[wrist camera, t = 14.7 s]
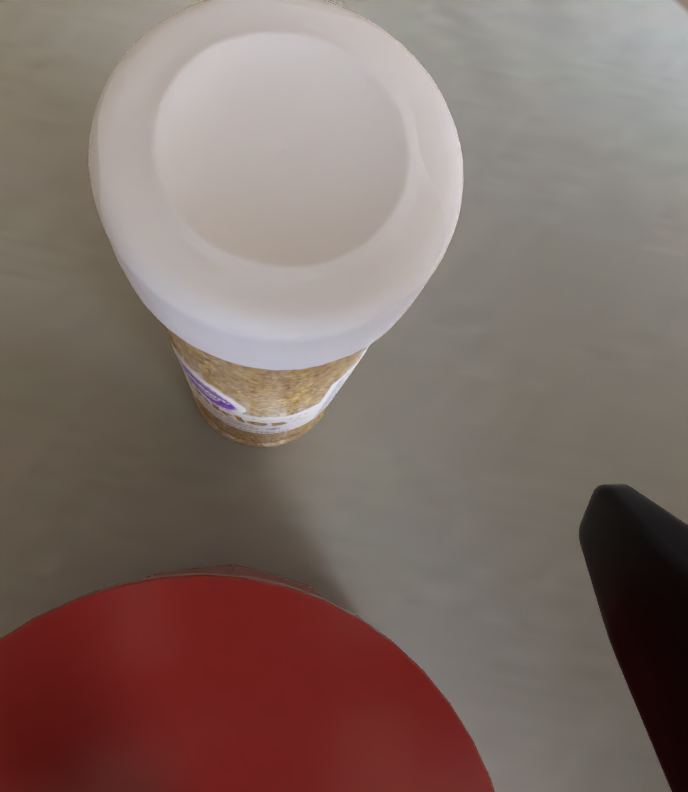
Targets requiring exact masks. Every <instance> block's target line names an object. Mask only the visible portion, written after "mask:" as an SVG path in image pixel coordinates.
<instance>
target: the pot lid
mask: <svg viewBox="0 0 688 792" xmlns="http://www.w3.org/2000/svg"><path fill="white" fill-rule="evenodd" d="M0 792H495V791H494V788H493V785H492V782H491V779H490V777H489V775H488V772H487V770H486V768H485V766H484V764H483V761H482V759H481V757H480V755H479V753H478V751H477V748H476V746H475V744H474V742H473V740H472V738H471V736H470V735H469V733H468V732H467V730H466V728H465V727H464V725H463V723H462V722H461V720H460V719H459V717H458V715H457V714H456V712H455V711H454V709H453V707H452V706H451V704H450V703H449V701H448V700H447V699H446V698H445V697H444V695H443V694H442V693H441V692H440V690H439V689H438V688H437V687H436V685H435V684H434V683H433V682H432V681H431V679H430V678H429V677H428V676H427V674H426V673H425V672H424V671H423V670H422V669H421V668H420V667H419V666H418V665H417V664H416V663H415V662H414V661H413V660H412V659H411V658H409V657H408V656H407V655H406V654H405V653H404V652H403V651H402V650H401V649H400V648H399V647H398V646H397V645H396V644H395V643H394V642H393V641H391V640H390V639H389V638H388V637H386V636H385V635H384V634H382V633H381V632H379V631H378V630H377V629H375V628H374V627H372V626H371V625H370V624H368V623H367V622H365V621H364V620H363V619H361V618H360V617H358V616H357V615H355V614H353V613H351V612H349V611H347V610H345V609H343V608H342V607H340V606H338V605H336V604H334V603H332V602H330V601H328V600H326V599H325V598H322V597H320V596H317V595H314V594H311V593H309V592H306V591H303V590H300V589H298V588H295V587H292V586H289V585H287V584H283V583H278V582H273V581H269V580H264V579H260V578H255V577H250V576H243V575H231V574H218V573H190V574H173V575H162V576H156V577H151V578H146V579H140V580H135V581H130V582H124V583H121V584H117V585H114V586H111V587H108V588H105V589H102V590H99V591H96V592H93V593H90V594H86V595H83V596H80V597H78V598H76V599H74V600H72V601H70V602H67V603H65V604H63V605H61V606H59V607H57V608H55V609H52V610H50V611H48V612H46V613H44V614H42V615H39V616H37V617H35V618H33V619H32V620H30V621H28V622H27V623H25V624H23V625H22V626H20V627H19V628H17V629H15V630H14V631H12V632H11V633H9V634H7V635H6V636H4V637H3V638H1V639H0Z"/></svg>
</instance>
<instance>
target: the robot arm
mask: <svg viewBox="0 0 688 792" xmlns="http://www.w3.org/2000/svg"><path fill="white" fill-rule="evenodd" d="M579 540H580V545H581V548H582V551H583V555H584V558H585V561H586V565H587V568H588V572H589V575H590V578H591V582H592V585H593V588H594V592H595V595H596V599H597V602H598V605H599V609H600V612H601V616H602V619H603V622H604V625H605V628H606V631H607V635H608V638H609V640H610V643H611V646H612V648H613V651H614V653H615V656H616V658H617V661H618V663H619V666H620V668H621V670H622V673H623V675H624V678H625V680H626V682H627V685H628V687H629V690H630V692H631V695H632V697H633V699H634V702H635V704H636V707H637V709H638V711H639V714H640V716H641V719H642V721H643V724H644V726H645V728H646V731H647V733H648V736H649V738H650V740H651V743H652V745H653V748H654V750H655V752H656V755H657V757H658V760H659V762H660V765H661V767H662V769H663V772H664V774H665V777H666V779H667V781H668V784H669V786H670V789H671V791H672V792H688V525H687V524H685V523H684V522H682V521H681V520H679V519H678V518H676V517H675V516H674V515H672V514H671V513H669V512H668V511H666V510H665V509H663V508H662V507H660V506H659V505H657V504H656V503H654V502H653V501H651V500H650V499H648V498H647V497H645V496H644V495H642V494H641V493H639V492H638V491H636V490H635V489H633V488H632V487H630V486H628V485H624V484H603V485H599V486H598V487H597V488H596V489H595V490H594V492H593V494H592V496H591V499H590V501H589V503H588V506H587V508H586V511H585V513H584V516H583V518H582V521H581V523H580V527H579Z"/></svg>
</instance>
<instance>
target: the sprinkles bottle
mask: <svg viewBox="0 0 688 792" xmlns="http://www.w3.org/2000/svg"><path fill="white" fill-rule="evenodd" d="M88 164H89V176H90V184H91V188H92V193H93V198H94V202H95V205H96V208H97V211H98V215H99V218H100V220H101V223H102V225H103V227H104V230H105V232H106V234H107V236H108V239H109V241H110V243H111V246H112V248H113V250H114V253H115V255H116V258H117V260H118V262H119V264H120V266H121V267H122V269H123V271H124V273H125V275H126V276H127V278H128V280H129V282H130V284H131V285H132V287H133V288H134V290H135V292H136V293H137V295H138V296H139V298H140V299H141V300H142V302H143V303H144V304H145V306H146V307H147V308H148V309H149V310H150V311H151V313H152V314H153V315H154V316H155V317H156V318H157V319H158V320H160V321H161V322H162V323H163V324H164V325H165V326H166V327H167V328H168V331H169V337H170V342H171V345H172V347H173V349H174V351H175V354H176V356H177V358H178V360H179V362H180V365H181V367H182V369H183V372H184V374H185V377H186V379H187V381H188V383H189V385H190V387H191V391H192V394H193V397H194V401H195V403H196V405H197V407H198V409H199V411H200V412H201V414H202V415H203V417H204V419H205V420H206V422H207V423H208V424H209V425H210V426H211V427H213V428H214V429H215V430H216V431H217V432H218V433H219V434H221V435H222V436H224V437H226V438H228V439H230V440H232V441H235V442H238V443H240V444H243V445H249V446H256V447H273V446H279V445H281V444H285V443H289V442H291V441H293V440H295V439H297V438H299V437H301V436H303V435H304V434H305V433H307V432H308V431H309V430H310V429H311V428H312V427H313V426H314V425H315V424H316V423H317V422H318V421H319V420H320V419H321V418H322V417H323V415H324V413H325V411H326V408H327V406H328V404H329V403H330V402H331V401H332V399H333V398H334V396H335V395H336V394H337V392H338V391H339V389H340V388H341V386H342V385H343V384H344V382H345V381H346V379H347V378H348V377H349V375H350V374H351V373H352V371H353V370H354V368H355V367H356V366H357V364H358V363H359V361H360V360H361V358H362V357H363V355H364V354H365V352H366V350H367V349H368V347H369V345H370V344H371V343H373V342H374V341H376V340H377V339H379V338H380V337H381V336H382V335H384V334H385V333H386V332H387V331H388V330H389V329H390V328H391V327H392V326H393V325H394V324H395V323H396V322H397V321H398V320H399V319H400V318H401V317H402V316H403V314H404V313H405V312H406V311H407V309H408V308H409V307H410V306H411V304H412V303H413V302H414V300H415V299H416V298H417V296H418V295H419V294H420V292H421V291H422V289H423V288H424V286H425V285H426V283H427V282H428V280H429V279H430V277H431V276H432V275H433V273H434V272H435V270H436V269H437V267H438V265H439V263H440V262H441V260H442V258H443V257H444V255H445V253H446V250H447V248H448V246H449V243H450V241H451V239H452V236H453V234H454V231H455V228H456V225H457V222H458V217H459V213H460V208H461V200H462V191H463V157H462V151H461V147H460V143H459V139H458V133H457V130H456V127H455V124H454V121H453V119H452V116H451V114H450V111H449V109H448V107H447V105H446V102H445V100H444V98H443V95H442V94H441V92H440V90H439V89H438V87H437V85H436V84H435V82H434V81H433V79H432V77H431V76H430V75H429V74H428V72H427V71H426V70H425V69H424V68H423V66H422V65H421V64H420V63H419V61H418V60H417V59H416V58H415V57H414V56H413V55H412V54H411V53H410V52H409V51H408V50H407V49H406V48H405V47H404V46H403V45H402V44H401V43H400V42H399V41H397V40H396V39H395V38H394V37H392V36H391V35H390V34H389V33H387V32H386V31H385V30H384V29H382V28H381V27H379V26H378V25H376V24H374V23H373V22H371V21H369V20H368V19H366V18H364V17H362V16H360V15H358V14H357V13H354V12H352V11H350V10H348V9H345V8H343V7H340V6H338V5H335V4H333V3H330V2H327V1H323V0H207V1H204V2H200V3H197V4H194V5H191V6H189V7H187V8H185V9H184V10H182V11H180V12H178V13H176V14H174V15H172V16H170V17H169V18H167V19H165V20H164V21H162V22H161V23H159V24H158V25H156V26H155V27H153V28H152V29H151V30H149V31H148V32H147V33H146V34H145V35H143V36H142V37H141V38H140V39H139V40H138V41H137V42H136V43H135V44H134V45H133V46H132V47H131V48H130V49H129V50H128V52H127V53H126V54H125V55H124V57H123V58H122V59H121V60H120V62H119V63H118V64H117V66H116V68H115V69H114V71H113V72H112V74H111V76H110V77H109V79H108V81H107V83H106V85H105V87H104V89H103V91H102V94H101V96H100V99H99V101H98V104H97V106H96V110H95V114H94V118H93V122H92V127H91V132H90V140H89V152H88Z"/></svg>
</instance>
